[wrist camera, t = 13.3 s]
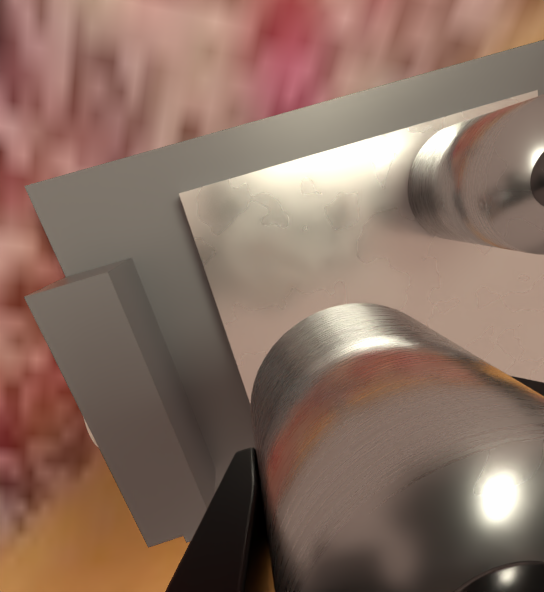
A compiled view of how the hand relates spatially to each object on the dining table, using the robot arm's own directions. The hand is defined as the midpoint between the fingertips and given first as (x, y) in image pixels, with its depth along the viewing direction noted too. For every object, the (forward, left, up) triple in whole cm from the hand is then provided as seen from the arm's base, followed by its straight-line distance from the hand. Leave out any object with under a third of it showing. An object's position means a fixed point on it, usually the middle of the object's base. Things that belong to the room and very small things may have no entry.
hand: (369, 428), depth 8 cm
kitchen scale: (-3, +2, -12) cm, 13 cm away
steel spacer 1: (0, 0, -1) cm, 1 cm away
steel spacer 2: (-9, -3, -9) cm, 13 cm away
